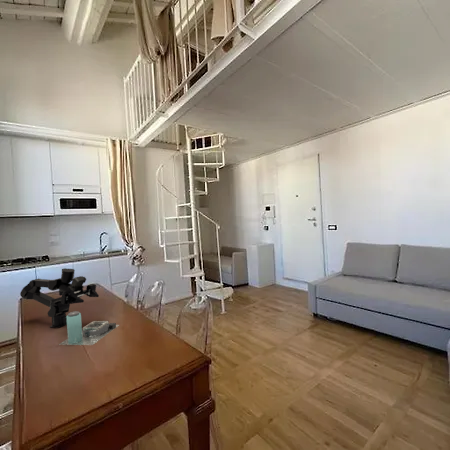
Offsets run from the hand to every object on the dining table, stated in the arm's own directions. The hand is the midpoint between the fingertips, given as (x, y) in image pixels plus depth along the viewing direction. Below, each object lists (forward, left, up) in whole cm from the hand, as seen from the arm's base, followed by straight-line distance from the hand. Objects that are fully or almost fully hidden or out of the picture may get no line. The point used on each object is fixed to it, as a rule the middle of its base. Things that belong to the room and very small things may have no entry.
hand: (91, 298), depth 135 cm
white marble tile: (+4, -8, -16) cm, 18 cm away
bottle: (+1, -15, -15) cm, 21 cm away
